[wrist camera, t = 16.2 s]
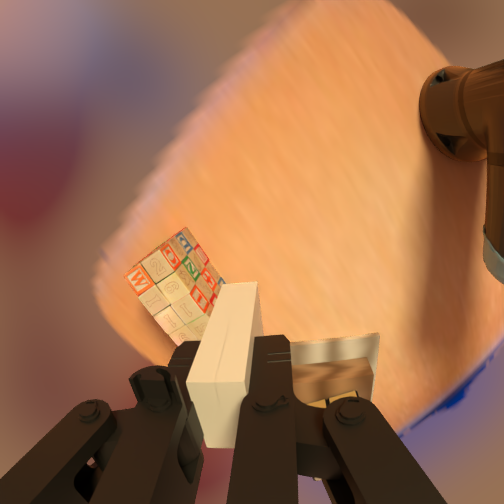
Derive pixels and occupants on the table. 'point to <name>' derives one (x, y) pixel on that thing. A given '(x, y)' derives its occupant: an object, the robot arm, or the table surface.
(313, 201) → the table surface
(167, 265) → the stack of blocks
